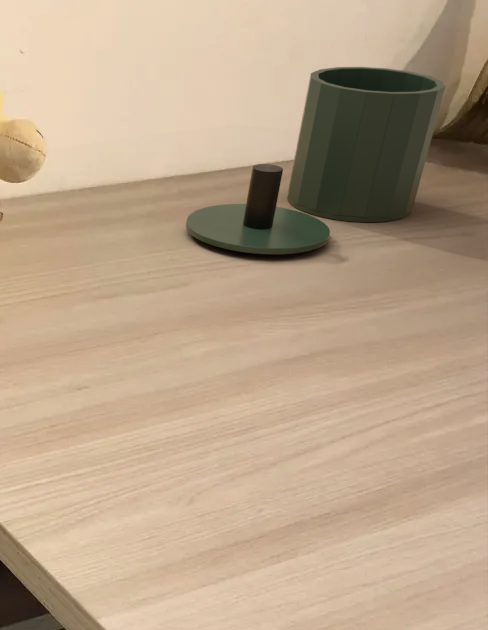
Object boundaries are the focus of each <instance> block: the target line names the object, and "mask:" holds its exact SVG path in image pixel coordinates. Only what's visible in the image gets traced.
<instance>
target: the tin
mask: <svg viewBox="0 0 488 630" xmlns="http://www.w3.org/2000/svg"><path fill="white" fill-rule="evenodd" d="M445 89H446V85H445V84H444V82H443V81H442V80H440V79H437V78H436V77H433V76H431V75H426V74H422V73H418V72H414V71H409V70H401V69H393V68H384V67H370V66H335V67H327V68H321V69H318V70H315V71H313V72H311V73H310V76H309V81H308V86H307V92H306V96H305V101H304V106H303V112H302V116H301V122H300V128H299V133H298V138H297V143H296V149H295V154H294V159H293V164H292V169H291V173H290V180H289V184H288V192H287V198H286V199H287V202H288V204H290V205H291V206H292V207H294V208H295V209H297V210H299V211H300V212H303V213H305V214H308V215H311V216H312V215H313V216H316V217H320V218H324V219H330V220H335V221H343V222H352V223H383V222H384V223H385V222H392V221H397V220H401V219H403V218H405V217H407V216H409V215H410V213H411V212H412V209H413V208H414V206H415V203H416V202H415V201H416V198H417V194H418V190H419V186H420V183H421V179H422V175H423V171H424V168H425V165H426V160H427V157H428V152H429V149H430V146H431V142H432V138H433V135H434V130H435V127H436V124H437V121H438V120H437V119H438V115H439V112H440V108H441V105H442V101H443V98H444V93H445Z"/></svg>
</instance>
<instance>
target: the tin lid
mask: <svg viewBox="0 0 488 630" xmlns="http://www.w3.org/2000/svg"><path fill="white" fill-rule="evenodd" d="M283 171H284V168H283V167H282V166H279V165H276V164H272V163H271V164H270V163H260V164H258V163H257V164H254V165H252V168H251V174H250V180H249V185H248V192H247V198H246V203H227V204H216V205H210V206H206V207H203V208H198V209H197V210H194V211H193V212H191V213H190V214H189V215H188V216H187V218H186V220H185V221H186V222H185V229H186V231H187V232H188V233H189V234H190V235H191V236H192V237H194V238H195V239H197V240H198V241H200V242H203V243H206V244H207V245H210V246H213V247H217V248H221V249H224V250H229V251H234V252H240V253H247V254H257V255H292V254H300V253H301V254H302V253H306V252H310V251H311V252H312V251H313V250H317V249H320V248H321V247H323V246H325V245H326V244H327V243H328V242H329V239H330V235H331V230H330V228H329V226H328V225H327V224H326V223H325V222H324V221H322V220H320V219H318V218H317V217H315V216H314V215H313V216H312V215H311V214H309V213H306V212H303V211H298V210H294V209H290V208H286V207H280V206H277V203H278V199H279V193H280V187H281V182H282V178H283Z"/></svg>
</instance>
